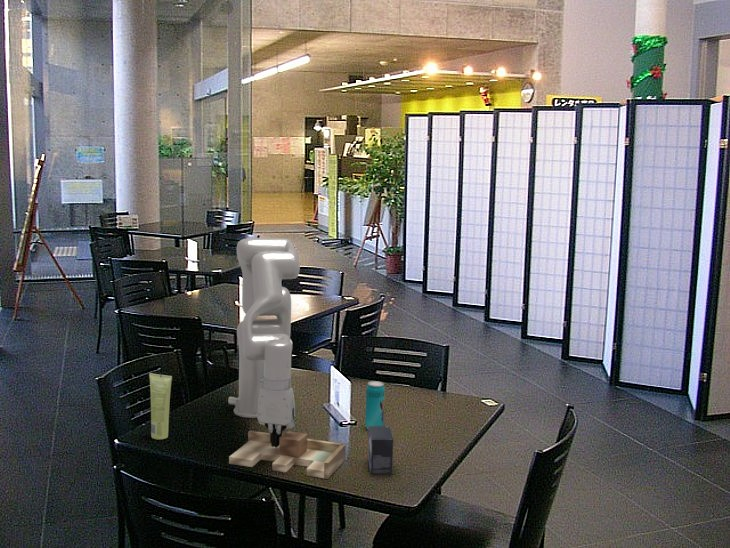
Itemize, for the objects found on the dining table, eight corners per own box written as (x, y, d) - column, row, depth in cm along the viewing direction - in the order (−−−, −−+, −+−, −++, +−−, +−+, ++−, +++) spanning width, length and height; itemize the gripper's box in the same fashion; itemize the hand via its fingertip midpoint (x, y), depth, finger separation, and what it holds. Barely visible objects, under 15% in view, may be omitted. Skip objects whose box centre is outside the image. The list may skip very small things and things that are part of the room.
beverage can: (381, 432, 256) (383, 386, 254) (363, 430, 257) (365, 385, 255) (384, 426, 262) (386, 381, 260) (367, 424, 263) (368, 380, 261)
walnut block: (279, 454, 229) (279, 437, 229) (287, 447, 235) (288, 431, 234) (298, 458, 228) (299, 440, 227) (307, 450, 233) (307, 434, 232)
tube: (168, 433, 249) (168, 371, 246) (171, 438, 244) (172, 375, 241) (149, 435, 246) (149, 373, 243) (152, 441, 242) (152, 377, 239)
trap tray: (227, 463, 227) (227, 447, 226) (249, 444, 242) (249, 430, 241) (328, 479, 219) (328, 463, 218) (345, 459, 233) (345, 444, 233)
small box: (366, 460, 233) (367, 425, 232) (388, 460, 234) (390, 425, 232) (369, 475, 223) (371, 438, 221) (393, 475, 223) (394, 438, 222)
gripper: (247, 383, 229) (246, 446, 232) (296, 390, 225) (295, 453, 227) (258, 377, 236) (257, 437, 239) (306, 383, 232) (305, 444, 234)
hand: (275, 445), depth 233 cm, fingers closed
